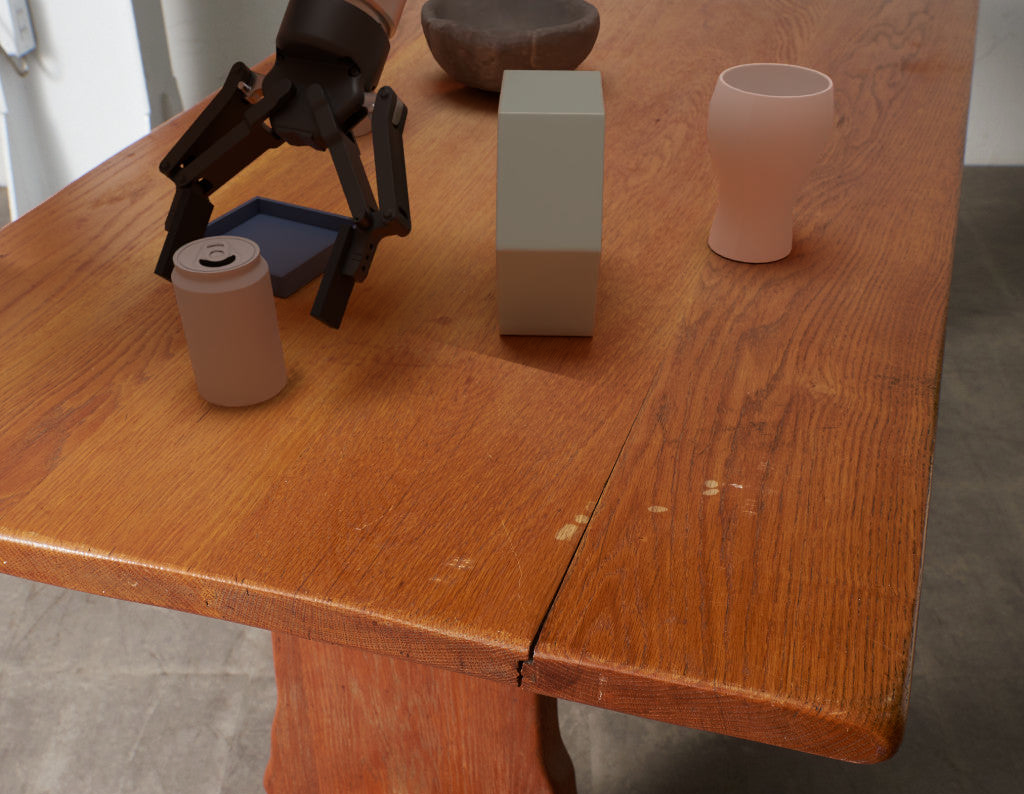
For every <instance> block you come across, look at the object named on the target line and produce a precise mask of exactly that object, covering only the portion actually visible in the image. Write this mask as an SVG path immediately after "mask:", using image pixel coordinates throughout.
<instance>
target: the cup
mask: <svg viewBox="0 0 1024 794" xmlns="http://www.w3.org/2000/svg"><path fill="white" fill-rule="evenodd" d="M834 91H835V90H834V83H833V79H831V78H830V76H828V75H827V74H825V73H823V72H821V71H819V70H816V69H812V68H809V67H805V66H800V65H795V64H787V63H778V62H777V63H773V62H761V63H760V62H755V63H745V64H738V65H735V66H732V67H729V68H726V69H725V70H723V71H722V72H721V73H720V74H719V76H718V78H717V81H716V84H715V87H714V90H713V93H712V96H711V98H710V101H709V104H708V114H707V120H706V121H707V123H706V138H707V146H708V152H709V157H710V160H711V163H712V165H713V168H714V171H715V174H716V176H717V179H718V205H717V208H716V211H715V214H714V217H713V220H712V224H711V226H710V231H709V236H708V239H707V244H708V246H709V248H710V249H711V250H712V251H713V252H714V253H716V254H718V255H720V256H721V257H724V258H726V259H730V260H733V261H737V262H742V263H754V264H759V263H770V262H775V261H779V260H781V259H784V258H786V257H787V256H788V255H789V254H790V253H791V251H792V249H793V248H792V247H793V234H794V233H793V228H794V227H793V225H794V224H793V223H794V221H793V220H794V219H793V215H794V214H793V212H794V209H795V207H796V204H797V201H798V197H799V193H800V191H801V187H802V186H803V184H804V183H805V182H806V181H807V179H808V178H809V177H810V175H811V174H812V173H813V171H814V170H815V168H816V167H817V166H818V164H819V161H820V160H821V157H822V156H823V154H824V152H825V149H826V148H827V145H828V143H829V142H830V139H831V133H832V129H833V123H834V118H835V98H834V97H835V95H834Z"/></svg>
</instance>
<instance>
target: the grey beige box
mask: <svg viewBox="0 0 1024 794" xmlns="http://www.w3.org/2000/svg"><path fill="white" fill-rule="evenodd" d="M499 93H500V94H499V100H498V109H497V126H496V128H497V131H496V133H497V135H496V187H495V188H496V189H495V190H496V191H495V193H496V195H495V196H496V197H495V247H494V248H495V249H494V250H495V271H496V272H495V273H496V295H497V320H498V334H499V335H501V336H549V337H550V336H551V337H552V336H553V337H554V336H555V337H559V336H560V337H593V336H594V335H595V325H596V316H597V315H596V314H597V305H598V304H597V303H598V294H599V283H600V282H599V281H600V270H601V263H602V254H603V253H602V251H603V221H604V220H603V219H604V183H605V182H604V181H605V148H606V147H605V146H606V145H605V144H606V107H605V100H604V89H603V81H602V73H601V70H574V71H557V70H504V72H503V79H502V86H501V92H499Z"/></svg>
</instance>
